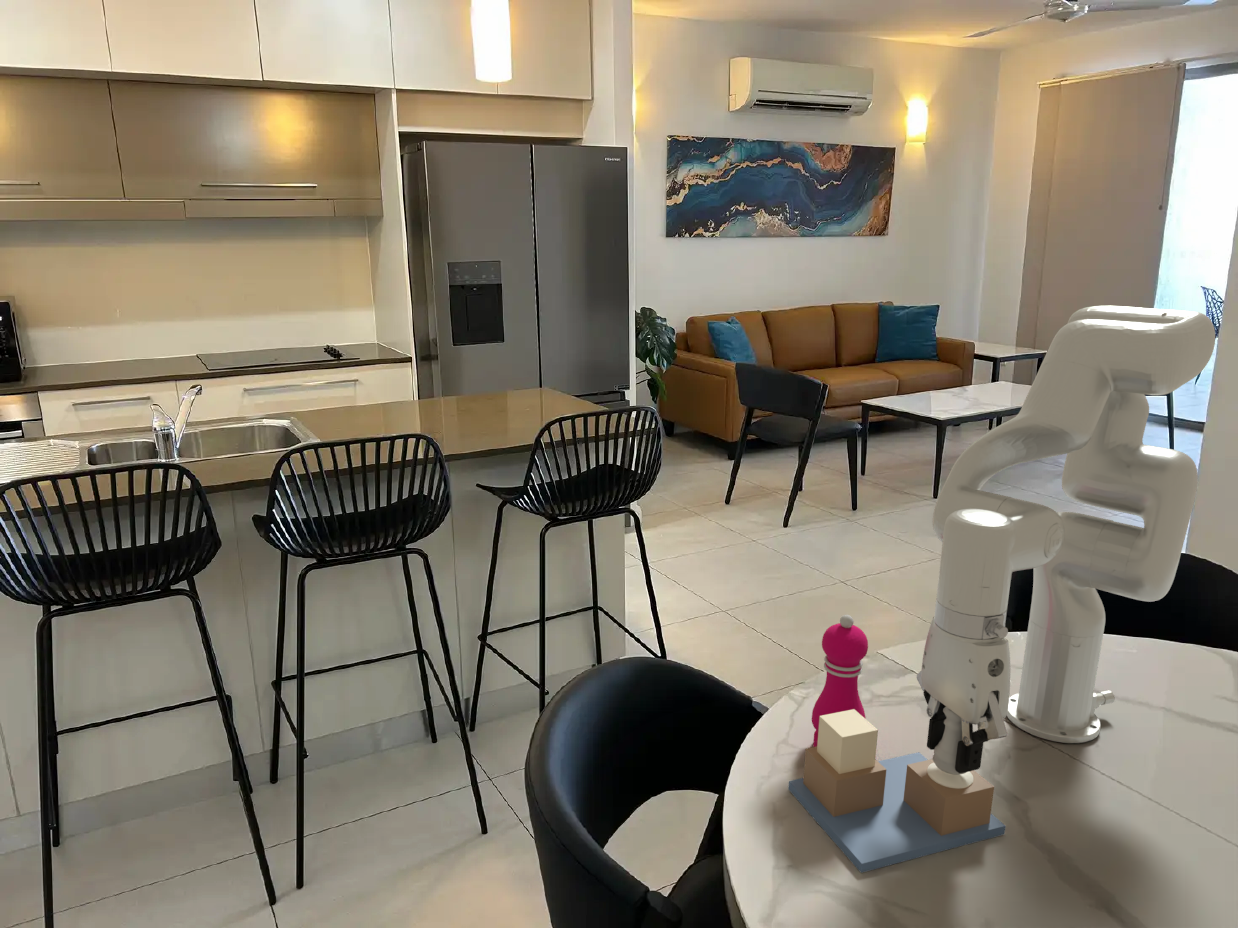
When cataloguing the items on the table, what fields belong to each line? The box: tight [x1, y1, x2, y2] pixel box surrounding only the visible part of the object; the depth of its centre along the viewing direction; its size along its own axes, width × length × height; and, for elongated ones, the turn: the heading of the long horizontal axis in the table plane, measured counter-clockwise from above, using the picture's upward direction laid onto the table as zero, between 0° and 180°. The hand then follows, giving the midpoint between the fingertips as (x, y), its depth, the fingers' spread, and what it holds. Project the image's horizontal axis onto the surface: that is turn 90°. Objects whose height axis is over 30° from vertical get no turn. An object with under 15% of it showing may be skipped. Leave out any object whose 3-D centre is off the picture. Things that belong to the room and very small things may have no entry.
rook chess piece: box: [931, 707, 966, 775], centre depth 104 cm, size 4×4×8 cm
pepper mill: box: [811, 614, 869, 747], centre depth 119 cm, size 7×7×20 cm
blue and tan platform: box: [787, 709, 1006, 874], centre depth 107 cm, size 20×16×11 cm
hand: (952, 756), depth 105 cm, fingers closed on rook chess piece, 4 cm apart
